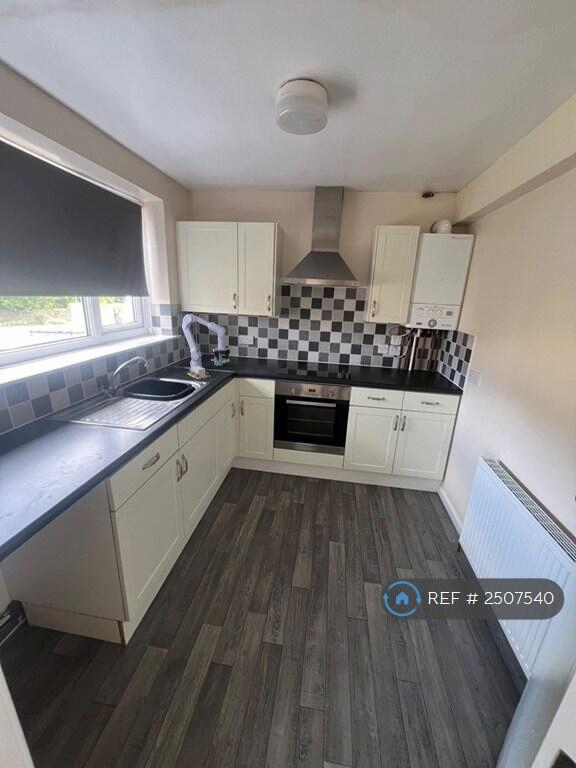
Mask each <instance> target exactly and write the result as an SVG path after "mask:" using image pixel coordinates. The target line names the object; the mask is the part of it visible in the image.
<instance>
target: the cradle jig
mask: <svg viewBox="0 0 576 768" xmlns="http://www.w3.org/2000/svg"><path fill="white" fill-rule="evenodd" d="M186 375H188V376H190V377H192V378H194V379H195V378H196V379H195V380H202V379H201V378H203V379H207V378H208V377H210V378H212V375H210V373H209V372H208V371H205V376H199V374H197V373H195V372H193V371H191V370H190V369H189V370H188V372H186ZM208 379H209V378H208Z"/></svg>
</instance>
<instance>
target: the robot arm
mask: <svg viewBox="0 0 576 768" xmlns="http://www.w3.org/2000/svg"><path fill="white" fill-rule="evenodd" d="M193 323H199V324H201V325H202V326H206V327H207V328H208V330H210V331H212V332H214V333H217V347H216V348H213V349H212V352H213V354H214V357H215V356H216V359H217V361H219V353H220V352H221V351H222V352H224V355H225V356H224V359H226V360H228V359H229V355H230V354H231V350H232V348H231V347H226V331H227V330H226V328H225V327H224V326H222V325H219V324H216V323H215V322H214V321H213V322H212V321H211V322H209V321H207V320H205V319H203V318H202V317H199V316H198V315H196V314H192V313H189V314H186V315H184V316H183V318H182V325H181V328H182V331H183V333H184V336H185V339H186V341H187V344H188V346H189V349H190V350H189V351H190V359H191V360H190V362H189V364H190V368H189V371H190V370H191V371H193V368H192V367H196V366H200V367H202V368H203V366H202V356H203V355H202V352H201V351H200V349H199V347H198V346H197V344H196V341H195V338H194V336H193V334H192V330H191V328H190V327H191V325H192V324H193Z"/></svg>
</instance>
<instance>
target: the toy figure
mask: <svg viewBox="0 0 576 768" xmlns="http://www.w3.org/2000/svg"><path fill="white" fill-rule="evenodd" d="M210 361H211V362H214V364H213V365H215V367H218V366H220V367H222V366H223V364H225V363H228V362H230V358H228V360H226V359H225V357H224V358H223V356H222V355H221V353H220V352H219V361H217V359H216V356H215V355H214V358H212V359H210Z"/></svg>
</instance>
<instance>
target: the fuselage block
mask: <svg viewBox="0 0 576 768" xmlns="http://www.w3.org/2000/svg"><path fill="white" fill-rule="evenodd" d="M192 368H193V372H195V373H197V374H199V376H205V372H206V368H204V367H203V366H202V367H200V366H196V367H192Z"/></svg>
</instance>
